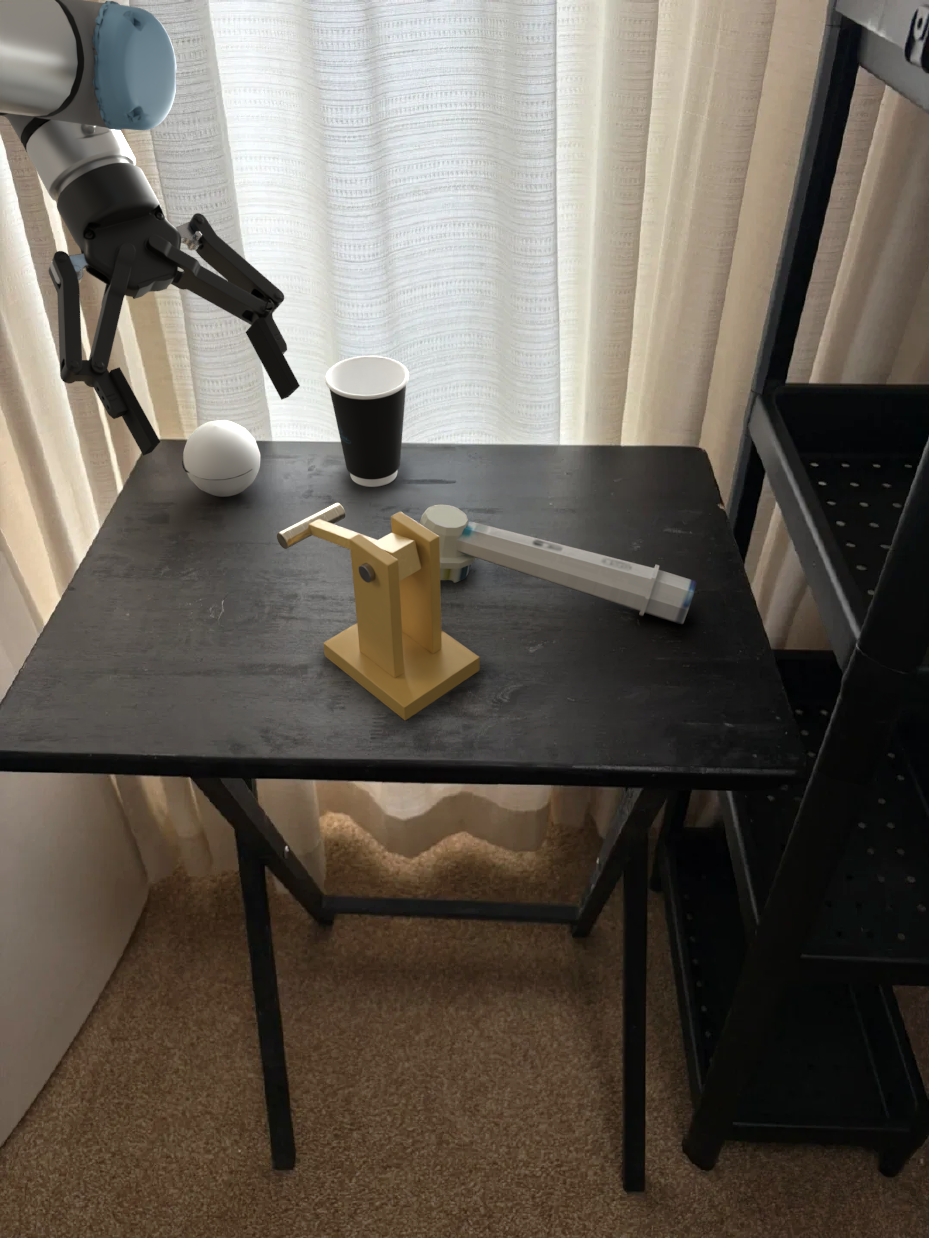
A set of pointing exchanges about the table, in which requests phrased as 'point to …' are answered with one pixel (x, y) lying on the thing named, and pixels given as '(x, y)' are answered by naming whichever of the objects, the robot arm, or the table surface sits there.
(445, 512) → the white handheld electric wand
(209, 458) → the white sphere
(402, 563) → the tap lever
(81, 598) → the table surface
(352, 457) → the dixie cup
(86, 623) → the table surface
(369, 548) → the yellow lever stand
